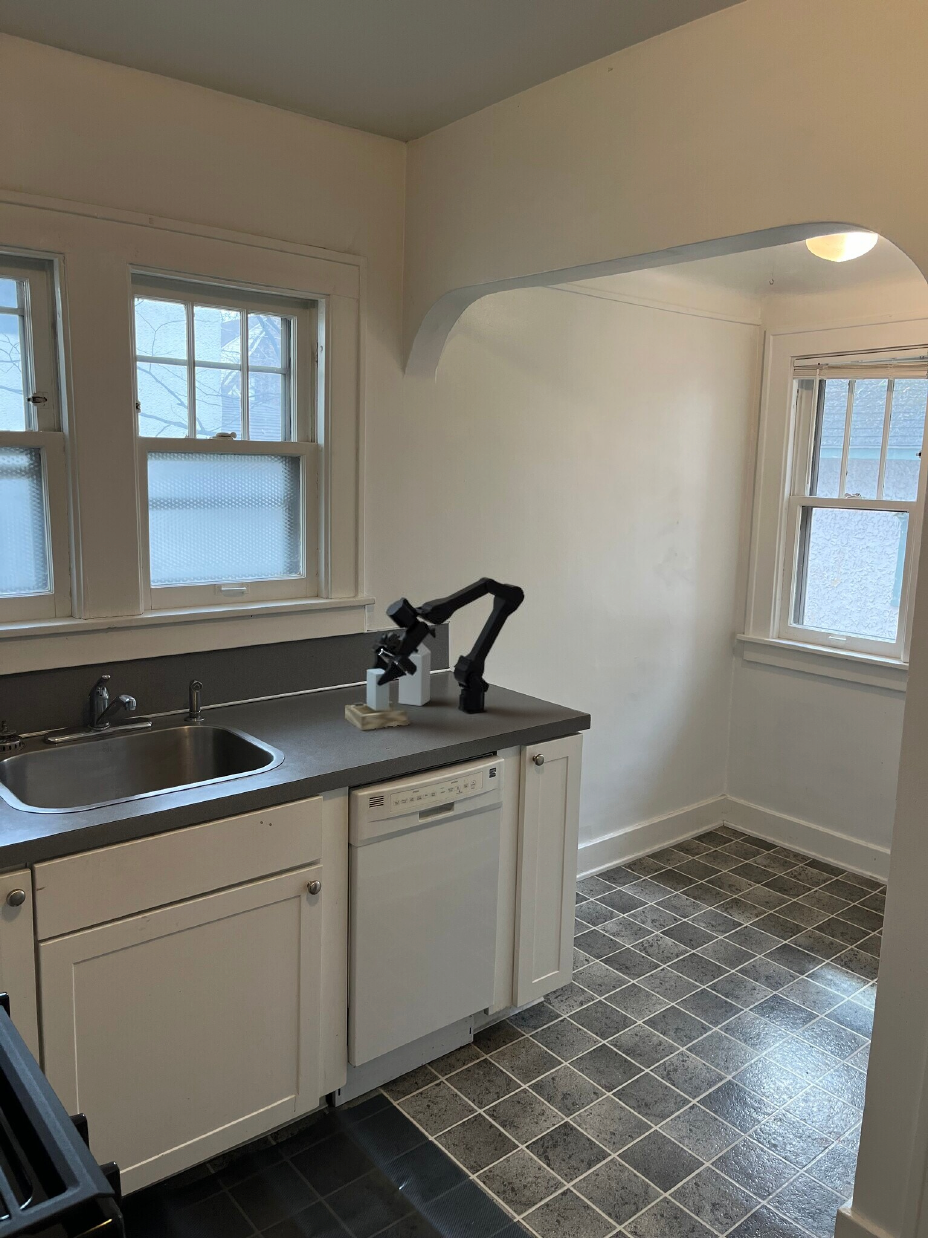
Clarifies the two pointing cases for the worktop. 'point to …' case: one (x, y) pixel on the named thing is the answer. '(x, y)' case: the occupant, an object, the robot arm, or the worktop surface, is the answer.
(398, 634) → the robot arm
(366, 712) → the wooden tray
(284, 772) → the worktop surface
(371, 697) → the pale blue box
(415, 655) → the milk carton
